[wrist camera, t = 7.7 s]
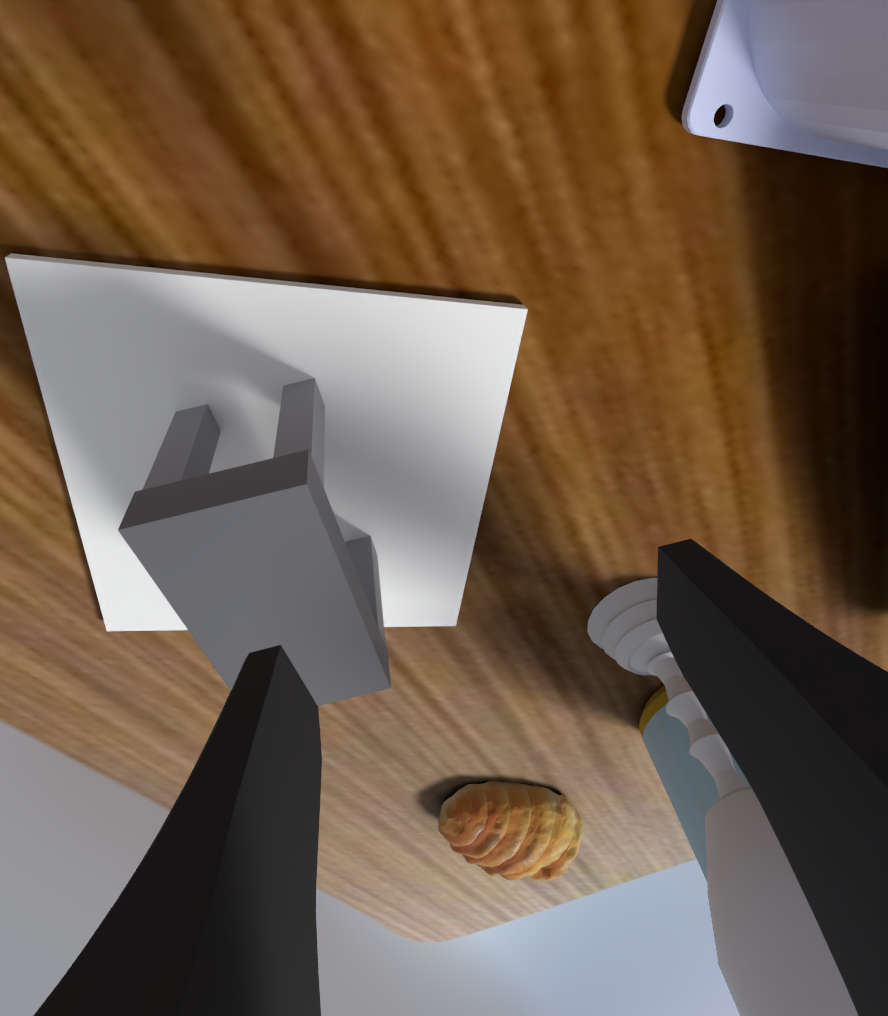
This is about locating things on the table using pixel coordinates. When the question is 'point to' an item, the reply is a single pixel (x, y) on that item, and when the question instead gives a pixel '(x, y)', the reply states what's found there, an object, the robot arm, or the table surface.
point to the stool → (262, 553)
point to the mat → (273, 409)
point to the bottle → (680, 770)
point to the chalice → (733, 842)
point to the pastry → (512, 829)
